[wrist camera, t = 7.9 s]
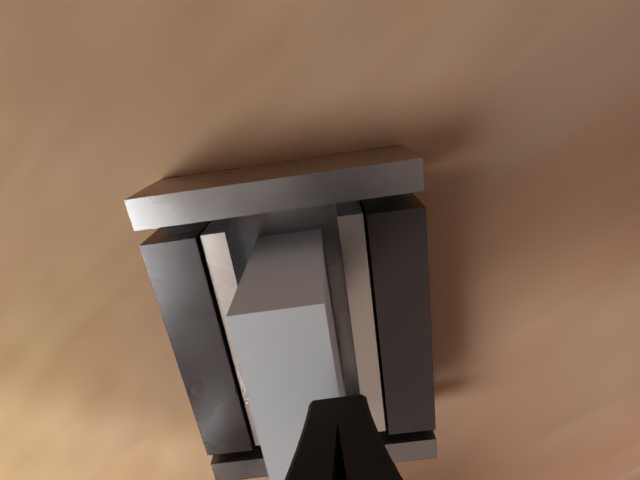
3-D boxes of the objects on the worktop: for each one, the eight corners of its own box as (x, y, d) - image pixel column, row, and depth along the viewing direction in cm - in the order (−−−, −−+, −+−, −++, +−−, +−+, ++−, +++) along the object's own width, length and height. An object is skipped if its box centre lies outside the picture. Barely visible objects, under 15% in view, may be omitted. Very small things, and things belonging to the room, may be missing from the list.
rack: (401, 144, 14) (425, 159, 11) (418, 402, 18) (439, 464, 15) (161, 179, 15) (119, 202, 12) (231, 424, 19) (214, 489, 16)
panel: (321, 228, 14) (324, 303, 9) (344, 379, 17) (357, 504, 12) (257, 237, 15) (225, 316, 9) (289, 386, 17) (278, 513, 12)
